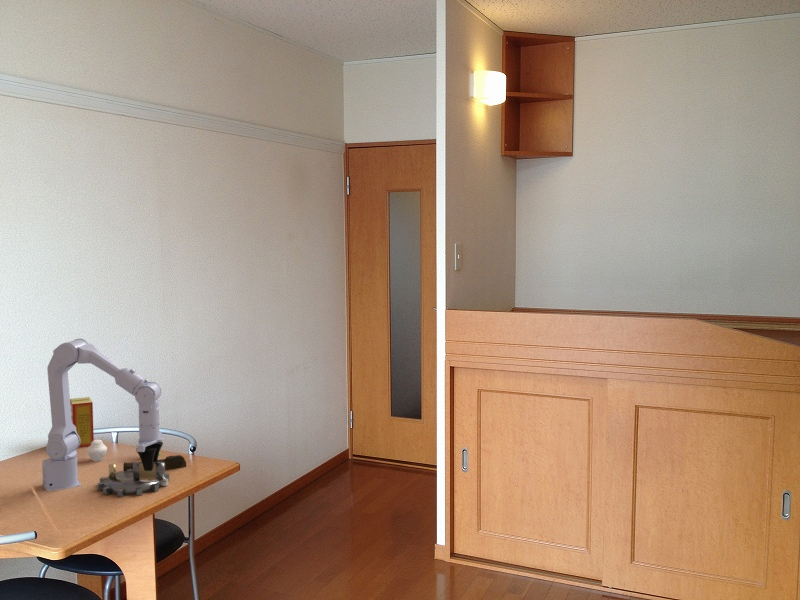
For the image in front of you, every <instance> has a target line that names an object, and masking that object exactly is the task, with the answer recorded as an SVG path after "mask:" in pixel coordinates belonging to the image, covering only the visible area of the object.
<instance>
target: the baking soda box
mask: <svg viewBox="0 0 800 600" xmlns="http://www.w3.org/2000/svg"><path fill="white" fill-rule="evenodd" d="M70 406H71V418H72V423H73V424H74V425H75V427H76V431H77V434H78V435H79V437H80V445H79V447H78V448H79V449H80V448H85V447H90V445H91V443H92V441H94V440H95V439H94V437H95V436H94V410H93V409H94V405H93V400H92V399H91V398H90V396H88V397H87V396H86V397H75V398H70ZM78 448H77V449H78Z"/></svg>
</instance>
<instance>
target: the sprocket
mask: <svg viewBox="0 0 800 600" xmlns="http://www.w3.org/2000/svg"><path fill="white" fill-rule="evenodd" d="M116 465H117V464H116V463H111V464H110V463H109V464H108V476H103V477H102V476H101V477H100V478H99V482H98V483H96V484H97V485H96V486H97V487H96V488H97V491H102V494H103V495H105V496H108V495H115V496H117V497H119V498H121V497H122V498H123V497H124V496H130V495H131V496H133V495H136V496H142V495H143V494H146V493H149V492H158V491H159V490H160V488H161V487H167V486H168V485H169V481H170V473H168V472H165V478H164V479H161V480H156V479H133V470H132V469H127V471H120V472H119V471H118V472H117V466H116Z"/></svg>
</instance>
